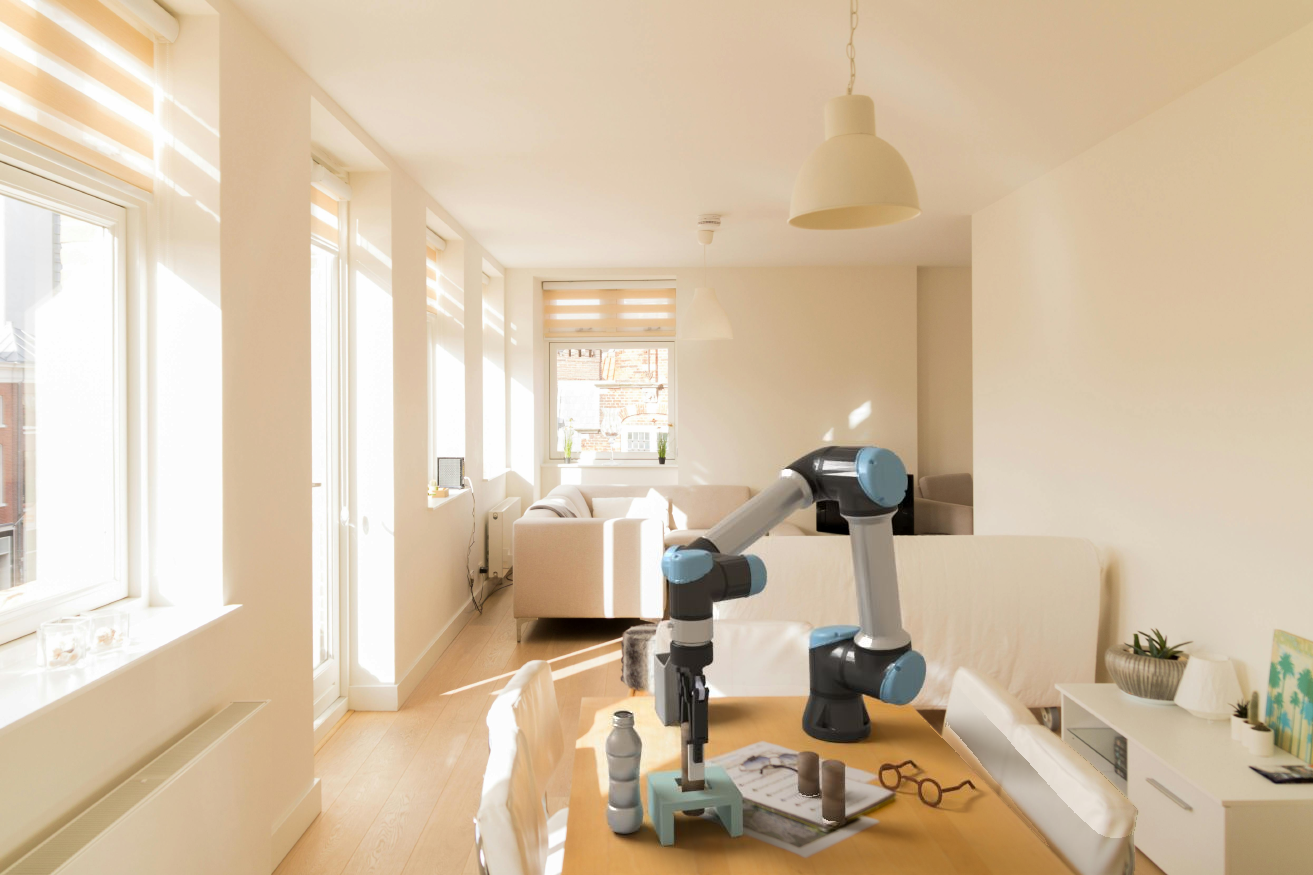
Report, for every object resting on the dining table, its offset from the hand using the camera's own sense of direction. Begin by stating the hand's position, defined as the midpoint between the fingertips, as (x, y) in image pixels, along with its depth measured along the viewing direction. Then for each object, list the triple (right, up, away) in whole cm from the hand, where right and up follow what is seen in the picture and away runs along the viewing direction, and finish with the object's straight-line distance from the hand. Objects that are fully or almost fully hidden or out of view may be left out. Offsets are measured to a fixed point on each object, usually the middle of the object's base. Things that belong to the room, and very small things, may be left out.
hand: (693, 772), depth 142 cm
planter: (-3, -8, +54) cm, 54 cm away
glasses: (+45, -9, +13) cm, 48 cm away
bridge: (0, -9, 0) cm, 9 cm away
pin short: (+22, -8, +11) cm, 26 cm away
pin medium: (+25, -9, 0) cm, 26 cm away
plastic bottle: (-12, -9, -1) cm, 15 cm away
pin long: (0, -7, 0) cm, 7 cm away
